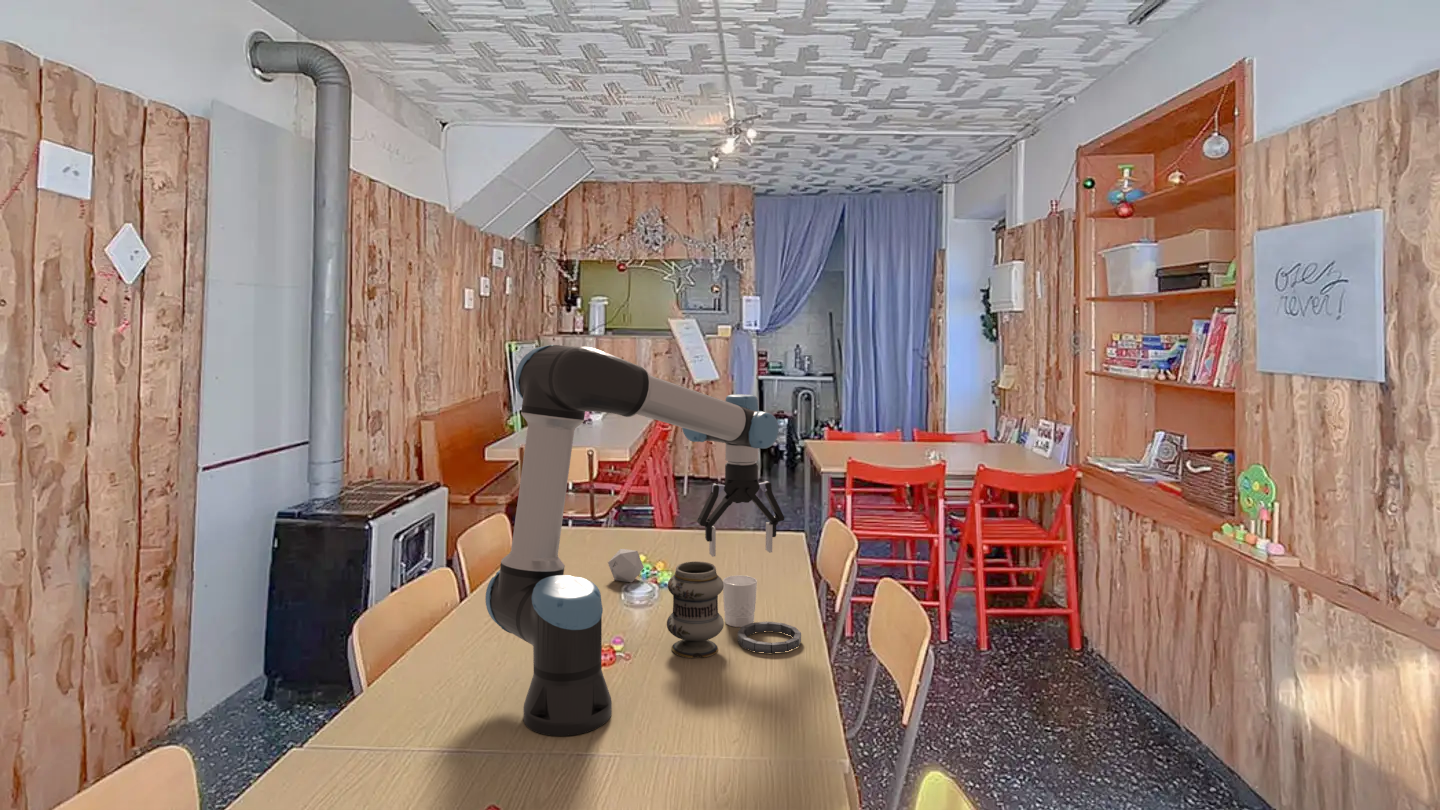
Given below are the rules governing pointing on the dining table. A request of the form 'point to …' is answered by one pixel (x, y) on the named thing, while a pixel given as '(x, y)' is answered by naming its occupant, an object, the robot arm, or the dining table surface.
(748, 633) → the collar ring
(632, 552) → the die
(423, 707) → the dining table surface
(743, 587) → the white cup
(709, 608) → the apothecary jar
